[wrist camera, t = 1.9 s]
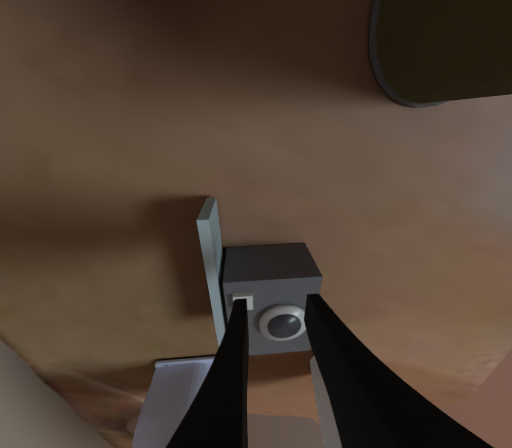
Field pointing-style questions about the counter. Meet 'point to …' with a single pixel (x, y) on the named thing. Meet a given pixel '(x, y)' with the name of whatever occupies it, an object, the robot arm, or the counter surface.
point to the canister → (441, 49)
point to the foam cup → (324, 409)
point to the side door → (213, 262)
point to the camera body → (272, 293)
